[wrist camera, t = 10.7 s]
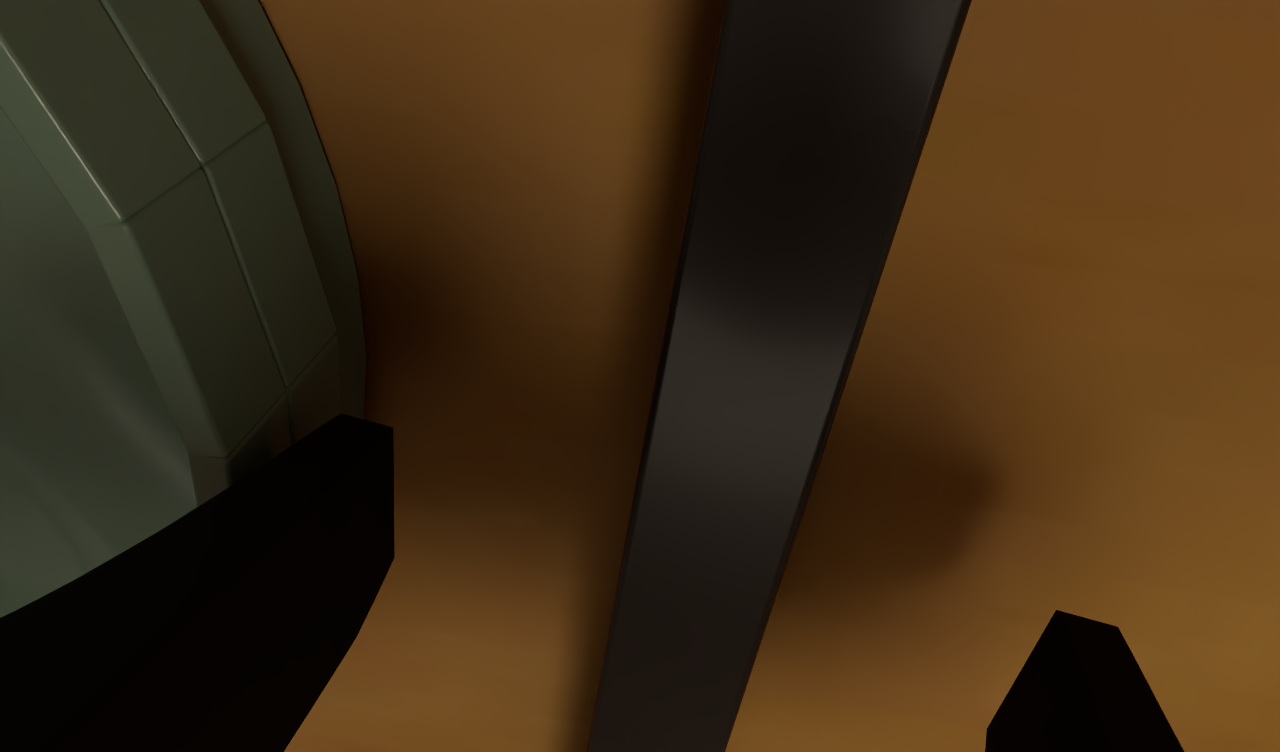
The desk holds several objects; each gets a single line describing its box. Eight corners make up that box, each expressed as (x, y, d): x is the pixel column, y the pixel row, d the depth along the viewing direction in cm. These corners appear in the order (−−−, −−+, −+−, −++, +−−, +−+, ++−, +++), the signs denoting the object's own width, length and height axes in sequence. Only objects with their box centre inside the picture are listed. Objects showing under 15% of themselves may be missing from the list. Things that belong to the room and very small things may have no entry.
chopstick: (1047, -302, 8) (1068, -288, 6) (693, 813, 18) (671, 917, 16) (815, -343, 8) (787, -338, 7) (592, 781, 18) (561, 881, 16)
